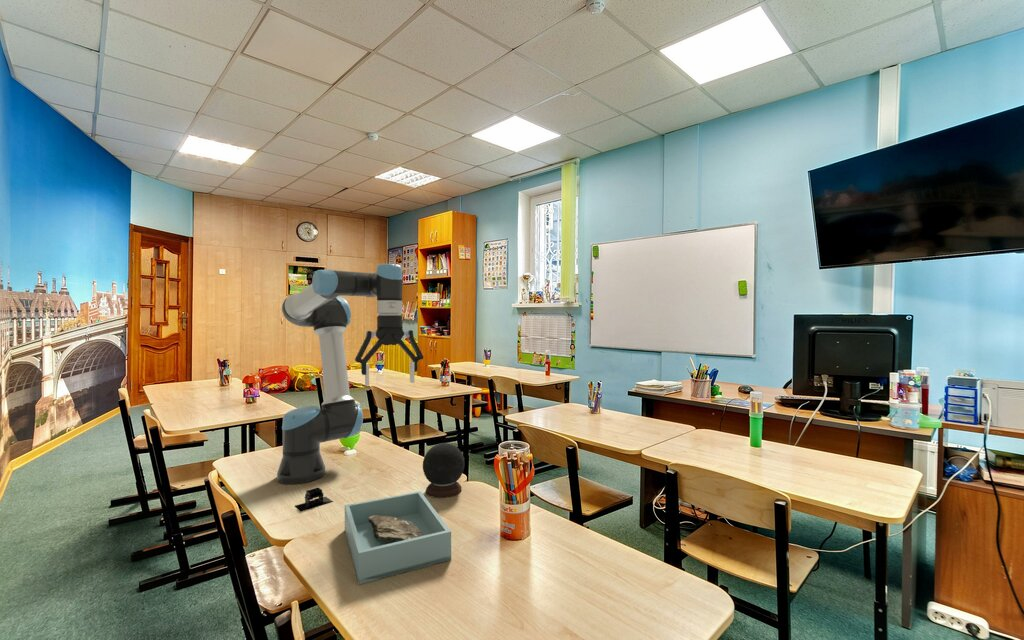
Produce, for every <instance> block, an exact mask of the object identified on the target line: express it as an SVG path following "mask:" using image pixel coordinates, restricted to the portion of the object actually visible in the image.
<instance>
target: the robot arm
mask: <svg viewBox="0 0 1024 640" xmlns="http://www.w3.org/2000/svg"><path fill="white" fill-rule="evenodd" d="M403 279H404V277H403V268H402V266H401V265H399V264H397V263H396V264H394V263H380V264H377V267H376V271H375V272H361V271H346V270H345V271H344V270H335V269H334V270H333V269H318V270H316V271H315V272H314V273H313V276H312V281H311V283H310V284H309V285H307V286H306V287H305V288H304V289H302V290H300V291H299V292H297V293H292V294H290V295H289V296H287V297H286V298H285V299H284V300H283V302H282V305H281V311H282V314H283V316H284V318H285V319H286V320H287V321H288V322H289V323H290V324H292V325H294V326H298V327H303V328H304V327H305V328H306V327H307V328H308V327H310V328H311V327H312V328H313V333H314V334H315V335H317V336H318V342H319V343H318V344H319V351H320V359H321V360H320V362H321V371H322V378H323V379H322V380H323V388H324V389H323V390H324V400H323V402H322V403H321V409H320V407H319V406H318V405H309V406H301V407H297V408H294V409H291V410H289V411H288V412H286V413H284V415H283V417H282V426H281V430H282V457H281V461H280V463H279V466H278V469H277V473H276V481H277V482H278V483H280V484H284V485H285V484H286V485H287V484H288V485H296V484H304V483H309V482H312V481H316V480H318V479H321V478H322V477H323V476H325V475H326V465H325V461H324V459H323V457H322V454H321V450H320V448H321V447H320V446H321V443H326V442H330V441H335V440H336V441H337V440H341V439H347V438H350V437H354V436H356V435H358V433H360V431H361V429H362V426H363V421H364V411H363V409H362V406H361V405H360V404H358V403H356V400H355V398H354V397H352V396H351V393H350V384H349V376H348V367H347V358H346V350H345V349H346V348H345V342H344V333H345V332H346V330H347V326H349V325H350V324H351V321H352V320H351V318H352V312H351V308H350V305H349V303H348V301H347V300H346V299H345V298H344V296H345V297H348V296H349V297H366V298H375V297H376V314H377V317H376V331H371V330H367V331H366V333H365V338H364V340H363V343H362V345H361V346H360V348H359V350H358V352H357V354H356V356H355V358H354V361H355V362H356V363H359V364H360V365H361V366H360V367H361V375H362V376H364V386H366V387H370V364H369V363H368V362H369V361H370V360H371V358H372V357H373V356H374V355H375V353H376V352H377V351H378V350H379V349H380V347H381V346H382V345H383V346H390V345H391V346H397V345H398V346H400V348H401V349H402V350H403V351H404V352H405V353H406V355H407V356H409V358H410V359H411V360H410V361H409V382H410V383H411V384H415V372H416V373H417V372H418V365H419V364H418V363H419V361H421V360H423V359H424V355H423V352H422V350H421V349H420V347H419V345H418V343H417V342H416V339H415V337H414V331H413V330H412V329H409V330H405V331H404V329H403V316H402V315H401V314H403ZM342 296H343V297H342ZM404 336H405V338H407V339H408V341H409V342H410V345H411V346H412V349H413V351H414V352H412V350H410V348H409V347H408V346H407V345H406V343H405V342H404V341H403V337H404ZM374 337H376V338H377V339H378V340H377V341H376V342H375V344H374V345H373V346H372V347H371V349H370V350H369V351H368V352H367V353H366V354H365V352H366V350H367V348H368V347H369V344H370V342H371V340H372V339H374ZM414 353H415V354H414ZM364 354H365V356H364Z"/></svg>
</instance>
